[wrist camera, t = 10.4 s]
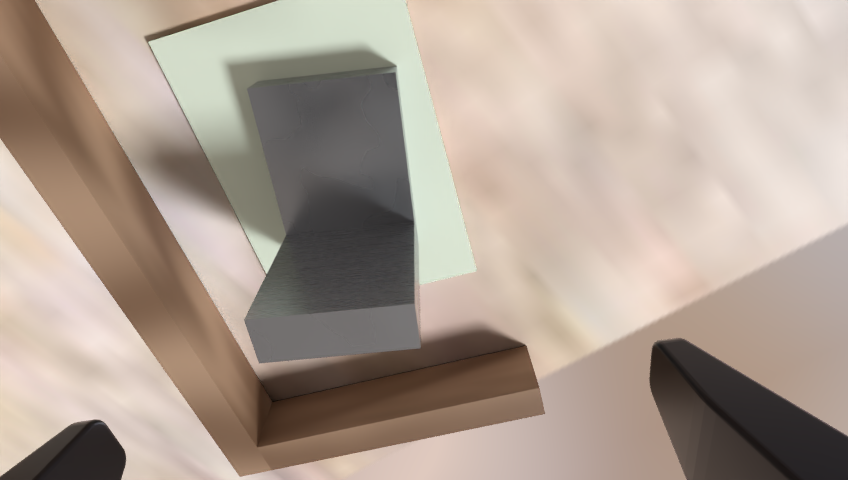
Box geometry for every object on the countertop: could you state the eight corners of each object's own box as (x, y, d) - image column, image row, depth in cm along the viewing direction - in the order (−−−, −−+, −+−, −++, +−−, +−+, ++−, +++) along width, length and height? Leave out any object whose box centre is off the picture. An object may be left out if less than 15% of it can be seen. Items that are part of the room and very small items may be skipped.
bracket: (418, 243, 19) (420, 348, 13) (302, 254, 19) (259, 363, 14) (396, 65, 16) (387, 111, 10) (257, 81, 16) (179, 133, 10)
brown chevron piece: (-33, -23, 14) (-114, -23, 12) (407, -178, 13) (406, -210, 11) (256, 430, 24) (239, 476, 21) (531, 370, 22) (545, 413, 20)
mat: (150, 41, 15) (147, 41, 15) (395, -37, 14) (395, -37, 14) (289, 314, 20) (288, 316, 20) (476, 268, 19) (477, 271, 19)
